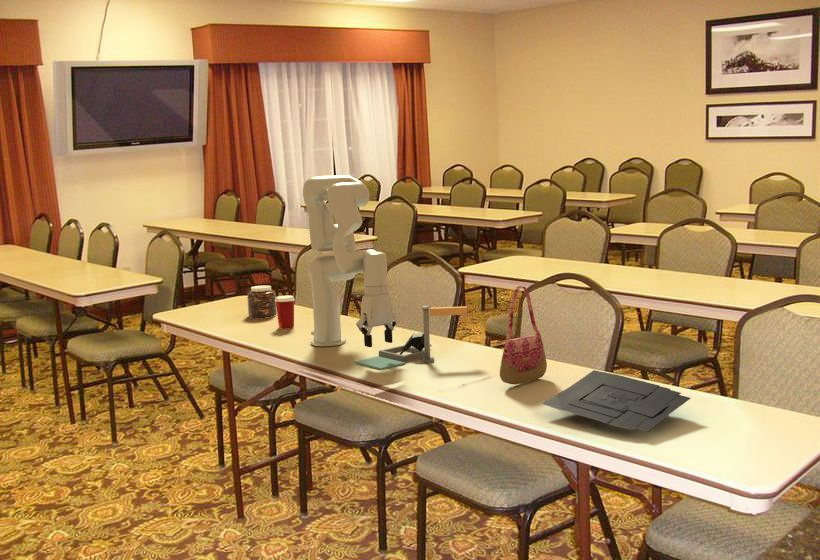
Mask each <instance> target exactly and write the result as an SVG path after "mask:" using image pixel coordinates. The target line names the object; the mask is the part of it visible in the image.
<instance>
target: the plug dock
mask: <svg viewBox="0 0 820 560" xmlns="http://www.w3.org/2000/svg"><path fill="white" fill-rule="evenodd" d="M422 320H423V333H424V348H423V350H421V351H419V350H417V349H415V348H414V347H412V346H411V347H410V348H409V349H408V350H407V351H406V352H410V353H408V354H404V355H403V354H402V355H400V353H398V352H402V349H403V347H404V346H405V344H403V345H399V346H394V347H389V348H384V349H380V350H378V356H379V357H383V358H388V359H392V360H396V361H401V362H405V363H406V362H412V361H414V360H417V359H420V361H421V362H420V363H423V364H430V363H434V362H435V358H432V357H431V351H430V349H431V347H430V344H431V343H430V341H431V340H430V308H429V309H422Z"/></svg>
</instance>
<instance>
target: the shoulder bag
mask: <svg viewBox="0 0 820 560" xmlns="http://www.w3.org/2000/svg"><path fill="white" fill-rule="evenodd" d="M521 288H522V289H523V290H524V294H525V298H526V303H527V307H528V311H529V312H528V313H529V317H530V323H531V327H532V328H533V330H534V331H535V334H528V335H524V336H520V337H515V338H512V332H513V323H514V312H515V306H516V300H517V296H518V293H519V291H520V290H521ZM533 310H534V309H533V305H532V300H531V296H530V292H529V290H528V288H527V287H526V286H521V285H518V286H517V287H516V288H515V290H514V292H513V295H512V297H511V300H510V306H509V316H508V326H507V327H508V328H507V333H506V339H505V343H504V348H503V351H502V356H501V362H500V369H499V377H500V378H499V379H501V381H502V382H503V383H505V384H509V385H521V384H524V383H529V382H532V381H536V380H539V379H540V378H543V376H544V375H545V373H546V371H547V367H548V363H547V357H546V353H545V349H544V343H543V340H542V335H541V332H540V331H539V329H538V326H537V324H536V320H535V315H534V312H533Z"/></svg>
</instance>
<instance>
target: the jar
mask: <svg viewBox="0 0 820 560" xmlns="http://www.w3.org/2000/svg"><path fill="white" fill-rule="evenodd" d="M276 297H277V296H276V291H275V290H272V286H271V285H255V286H251V287H250V291H248V292H247V312H248V313H247V314H248V318H249V317H252V318H251V319H254V318H263V319H266V318H265V317H270V318H272V317H271V316H274V315H276V314H277V307H276V301H275V300H276ZM276 316H277V315H276ZM274 317H275V316H274Z"/></svg>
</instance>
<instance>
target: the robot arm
mask: <svg viewBox="0 0 820 560" xmlns="http://www.w3.org/2000/svg"><path fill="white" fill-rule="evenodd" d="M302 197H303V201H304V205H305V207H306V210H307V215H308V227H309V228H308V230H309V240H310V241H309V242H310V246H311V249H312V250H313V251H314V252H317V253H329V252H330V253H331V252H332V253H333V254H329V255H328V254H327V255H320V256H316V257H314V258H312V259H310V260H309V262H308V265H307V272H308V277H309V280H310V286H311V295H312V296H311V297H312V308H313V309H312V310H313V311H312V312H313V331H311V332H310V335H312V336H313V339H311V340H310V345H312V346H314V347H336V346H340V345H343V344H345V343H346V341H347V339H346V338H345V337H343V336H342V326H341V325H342V324H341V307H340V306H341V305H340V294H339V291H338V289H337V288H336V287H335V286H334V284H333V283H334V282H335V283H336V282H343V281H349V280H353V279H354V278H355V276H356V275H357V274H363V284H364V285H363V286H364V295H362V299H361V304H360V319H358V320H357V322H356V323H355V326H356V327H357V328H358V330H359V331H360V332H361V334H362V335H363V343H364V347H367V348H372V347H373V335H372V334H371V333H372V331H373V329H374V328H375V327H380V326H381V327H382V326H383V327H384V328H385V329H384V331H383V332H384V342H385V343H387V344H388V343H389V344H392V343H393V331H394V330H395V326H396V325H397V322H398V319H399V316H398V315H397V314H395V312H393V305H392V304H393V303H392V299H391V294H390V293H389V290H390V289H391V287H390V285H389V282H388V261H387V259H388V258H387V255H386V253H385V252H382V251H377V250H375V249H371V248H370V249H359V250H358V249H357V250H356V239H355V234H354V232H356V231H357V230H358V229H360V227H361V226H362V224H363V218H362V216H361V214H360V210H359V208H360V207H365V206H367V205H368V204H369V201H370V192H369V189H368V187H367V186H366V184H365V183H364V182H362V181H361V180H359V179H357V178H354V177H352V176H350V175H345V174H344V175H343V174H342V175H322V176H315V177H311V178H310V177H309V178H308V179H306V181H304V183H303V186H302ZM326 201H327V202H328V204H327V202H326ZM358 207H359V208H358ZM333 217H334V218H333ZM333 219H334V220H333ZM334 221H335V224H334Z"/></svg>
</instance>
